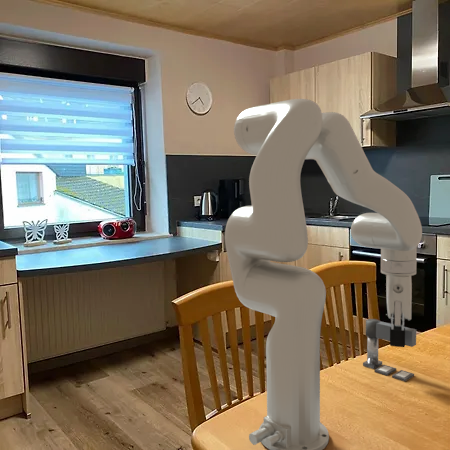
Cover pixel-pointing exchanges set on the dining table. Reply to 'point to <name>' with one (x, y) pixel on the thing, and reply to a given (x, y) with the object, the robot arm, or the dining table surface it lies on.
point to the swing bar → (388, 331)
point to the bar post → (372, 353)
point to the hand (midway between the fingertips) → (397, 345)
